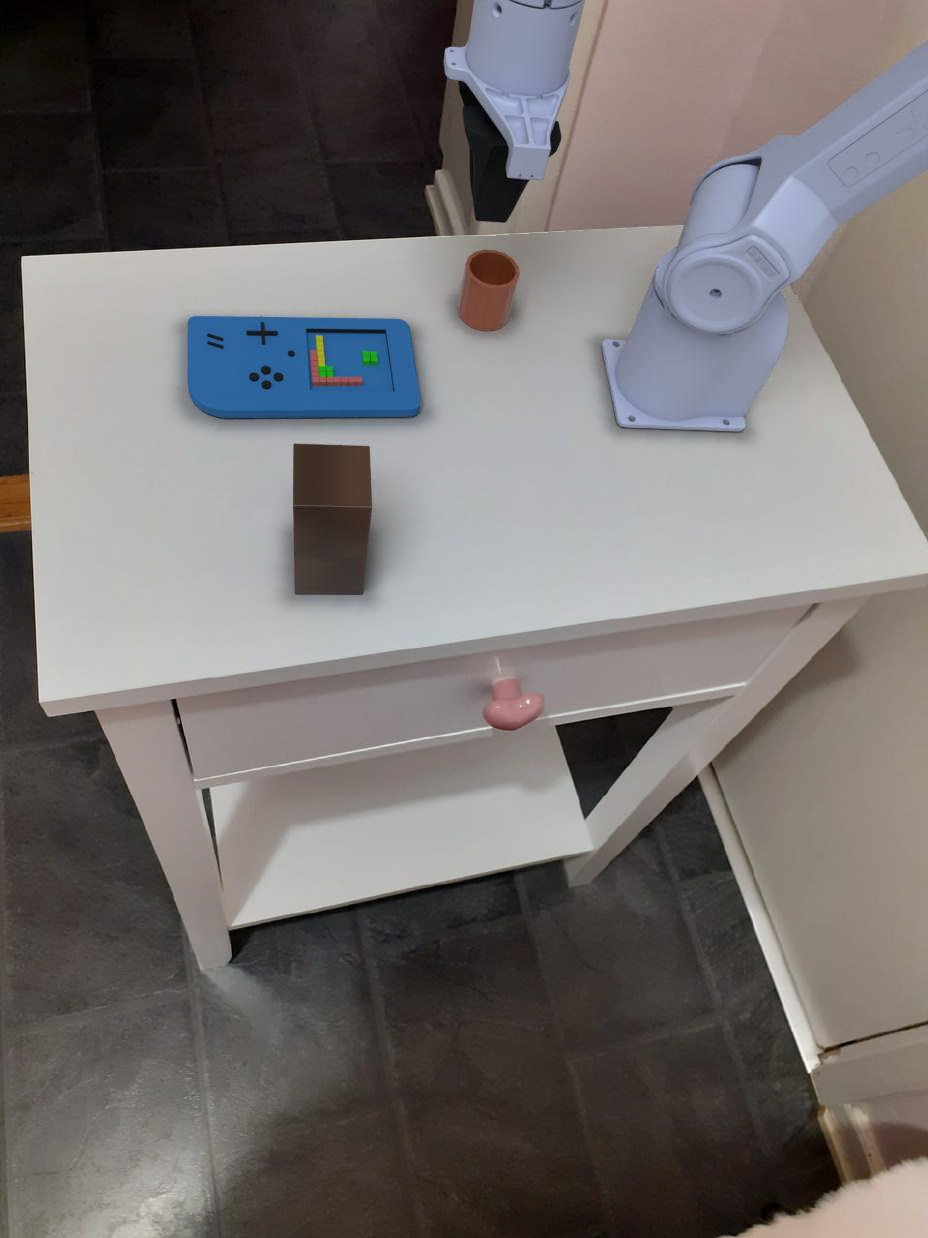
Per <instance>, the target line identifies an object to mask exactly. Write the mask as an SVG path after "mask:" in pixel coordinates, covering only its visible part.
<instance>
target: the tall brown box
mask: <svg viewBox="0 0 928 1238" xmlns="http://www.w3.org/2000/svg"><path fill="white" fill-rule="evenodd" d="M292 451H293V453H292V532H293V535H292V536H293V538H292V539H293V580H294V581H293V583H294V584H293V585H294V595H325V596H326V595H335V596H336V595H337V596H339V595H341V596H343V595H345V596H347V595H348V596H350V595H351V596H352V595H353V596H362V595H363V594H364V588H365V586H364V585H365V578H366V570H367V562H368V561H367V560H368V550H369V542H370V532H371V522H372V515H373V491H372V489H373V488H372V468H371V467H372V464H371V463H372V462H371V447H370V445H356V444H355V445H353V444H351V445H350V444H323V443H322V444H321V443H293V445H292Z"/></svg>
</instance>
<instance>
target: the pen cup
mask: <svg viewBox="0 0 928 1238" xmlns="http://www.w3.org/2000/svg"><path fill="white" fill-rule="evenodd" d="M520 275H521V272H520V267H519V265H518V264H517V262H516V261H515V259H513V258H512V257H511V256H510V255H508V254H507V253H504V252H502V251H499V250H496V249H481V250H477V251H474V252H473V253H472V254H470V255H468V257H467V259H466V261H465V264H464V269H463V275H462V280H461V285H460V290H459V296H458V302H457V314H458V316H459V317H460V320H461V321H462V322H463V323H464V324H466V325H467V326H468V327H470V328H472V329H474V330H478V331H482V332H493V331H497V330H500V329H501V328H503V327H504V326H505V325H506V324H507V322H508V321H509V317H510V314H511V311H512V307H513V304H514V303H513V302H514V300H515V295H516V291H517V288H518V283H519V280H520Z"/></svg>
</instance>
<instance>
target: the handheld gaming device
mask: <svg viewBox="0 0 928 1238" xmlns="http://www.w3.org/2000/svg"><path fill="white" fill-rule="evenodd" d="M187 388H188V395H189V397H190V399H191V401H192V403H193V404H194V406H196V407H197V408H198V409H199V410H201V411H202V412H203V413H205V414H208V415H210V416H213V417H216V418H221V419H282V418H283V419H285V418H286V419H292V418H293V419H295V418H297V419H298V418H301V419H302V418H410V417H412V418H413V417H415V416H417V415H418V414H419V413H420V409H421V403H422V402H421V394H420V388H419V381H418V375H417V367H416V360H415V354H414V347H413V340H412V334H411V327H410V324H409V323H408V322H407V321H406V320H404V319H401V318H379V317H378V318H377V317H375V318H374V317H373V318H371V317H370V318H369V317H304V316H303V317H302V316H300V317H299V316H298V317H297V316H296V317H295V316H290V317H289V316H239V315H238V316H234V315H233V316H230V315H226V316H225V315H193V316H190V317H189V318H188V320H187Z"/></svg>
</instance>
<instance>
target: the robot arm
mask: <svg viewBox="0 0 928 1238" xmlns="http://www.w3.org/2000/svg"><path fill="white" fill-rule="evenodd" d="M585 4H586V0H473V5H472V13H471V19H470V20H471V21H470V27H469V33H468V40H467V42H466V44H465V45H464V46H449V47H446V48H445V50H444V56H443V68H444V69H443V70H444V74H445V76H446V77H447V78H448V79H449V80H452V81H457V85H458V91H459V94H460V98H461V101H462V103H463V106H462V111H461V113H462V114H461V115H462V120H463V121H462V123H463V128H464V134H465V137H466V139H467V144H468V153H469V155H468V157H469V159H468V160H469V162H468V163H469V167H468V169H469V184H470V191H471V197H472V206H473V215H474V219H475V221H476V222H483V223H484V222H486V223H500V224H501V223H502V224H505V223H507V222H508V220H509V219H510V217H511V215H512V213H513V212H514V210H515V208H516V206H517V204H518V202H519V200H520V198H521V196H522V194H523V193H524V191H525V188H526V187H527V185H528V184H529V182H530V181H532V180H533V181H543V180H544V178H545V174H546V170H547V167H548V162H549V159H550V158H551V157H552V156H554V155H555V154H556V152H557V151H558V150H559V147H560V145H561V142H562V131H561V127H560V123H559V122H560V121H558V120H557V118H558V116H559V113H560V110H561V107H562V106H563V105H562V104H563V102H564V99H565V97H566V95H567V92H568V88H569V85H570V84H569V83H570V80H571V79H570V78H571V69H570V64H571V60H572V56H573V52H574V49H575V44H576V41H577V36H578V33H579V27H580V24H581V19H582V15H583V11H584V7H585ZM927 170H928V39H926V40H925V41H924V42H923V43H921V44H920V45H918V46H917V47H916V48H914V49H913V50H912V51H911V52H909V53H908V54H907V55H905V56H904V57H903V58H901V59H900V60H898V61H897V62H896V63H895V64H893V65H892V66H891V67H889V68H888V69H886V70H885V71H884V72H882V73H881V74H880V75H879V76H877V77H876V78H874V79H873V80H872V81H871V82H869V83H868V84H867V85H865V86H864V87H863V88H861V89H860V90H858V91H857V92H856V93H855V94H853V95H852V96H850V97H849V98H848V99H847V100H845V101H844V102H843V103H841V104H840V105H839V106H837V107H836V108H835V109H833V110H832V111H830V113H828V114H827V115H825V116H824V117H823V118H821V119H820V120H819V121H817V122H816V123H815V124H813V125H812V126H811V127H810V128H808V129H806V131H804V132H803V133H802V134H799V135H789V134H788V135H787V134H777V135H774V136H773V137H772V138H771V139H769V140H768V141H767V142H766V143H765V144H763V145H761V146H760V147H759V148H756V149H755V150H752V151H750V152H748V153H744V154H739V155H735V156H729V157H727V158H724V159H722V160H719V161H718V162H716V163H713V164H712V165H711V166H710V167H708V169H706V170H705V171H704V172H703V173H702V174H701V176H700V177H699V179H698V180H697V182H696V183H695V185H694V188H693V189H692V193H691V197H690V201H689V210H688V213H687V214H686V215H687V216H686V219H685V222H684V225H683V227H682V231H681V233H680V237H679V239H678V242H677V245H676V246H675V247H674V248H672V249H671V250H670V251H668V252H667V253H665V254H664V256H662V257H661V259H660V260H659V261H658V263H657V265H656V268H655V271H654V273H653V276H652V277H651V281H650V282H649V285H648V287H647V290H646V292H645V295H644V297H643V300H642V302H641V305H640V307H639V310H638V312H637V314H636V317H635V319H634V322H633V324H632V326H631V329H630V331H629V334H628V336H627V339H612V338H607V339H604V340H603V341H602V342H601V351H602V352H601V353H602V355H603V362H604V365H605V371H606V377H607V381H608V386H609V390H610V395H611V401H612V405H613V411H614V415H615V421H616V424H617V425H618V426H619V427H621V428H629V429H630V428H631V429H632V428H633V429H634V428H635V429H656V430H657V429H659V430H660V429H662V430H685V431H686V430H687V431H689V430H690V431H712V432H713V431H714V432H715V431H716V432H737V433H738V432H739V433H740V432H743V431H744V429H746V426H747V422H746V419H745V416H746V414H747V413H748V411H749V409H750V408H751V406H752V404H753V403H754V401H755V400H756V398H757V396H759V395H758V394H759V393H760V391H761V390H762V388H763V387H764V385H765V383H766V382H767V380H768V379H769V377H770V375H771V374H772V372H773V370H774V369H775V367H776V366H777V364H778V362H779V360H780V358H781V356H782V353H783V351H784V347H785V345H786V341H787V336H788V330H789V310H788V304H787V300H786V297H785V295H784V294H783V292H782V291H783V290H784V289H785V288H787V287H788V286H789V285H791V284H792V283H795V282H796V281H798V280H799V279H800V278H801V277H802V276H803V275H804V274H805V272H806V271H807V270H808V268H810V266H811V265H812V263H813V261H814V260H815V259H816V257H817V256H818V255H819V253H820V252H821V250H822V249H823V247H824V246H825V245H826V244H827V242H828V241H829V239H830V238H831V237H832V235H834V233H835V232H836V231H837V229H838V228H839V227H840V226H841V225H843V224H844V223H846V222H848V221H849V220H851V219H852V218H854V217H855V216H857V215H859V214H860V213H862V212H863V211H865V210H866V209H868V208H869V207H871V206H873V205H875V203H877V202H878V201H880V200H882V199H883V198H885V197H887V196H888V195H890V194H892V193H893V192H894V191H896V190H898V189H899V188H901V187H902V186H904V185H905V184H907V183H909V182H910V181H911V180H913V179H914V178H917V177H918V176H919V175H921V174H923V173H924V172H926V171H927Z"/></svg>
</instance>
